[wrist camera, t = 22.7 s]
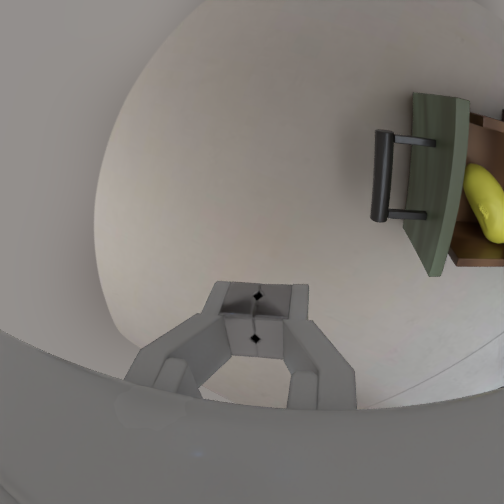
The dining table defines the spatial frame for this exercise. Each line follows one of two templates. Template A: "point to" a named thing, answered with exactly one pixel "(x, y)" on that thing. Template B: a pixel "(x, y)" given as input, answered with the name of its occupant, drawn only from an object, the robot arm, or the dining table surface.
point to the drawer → (441, 181)
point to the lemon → (485, 201)
